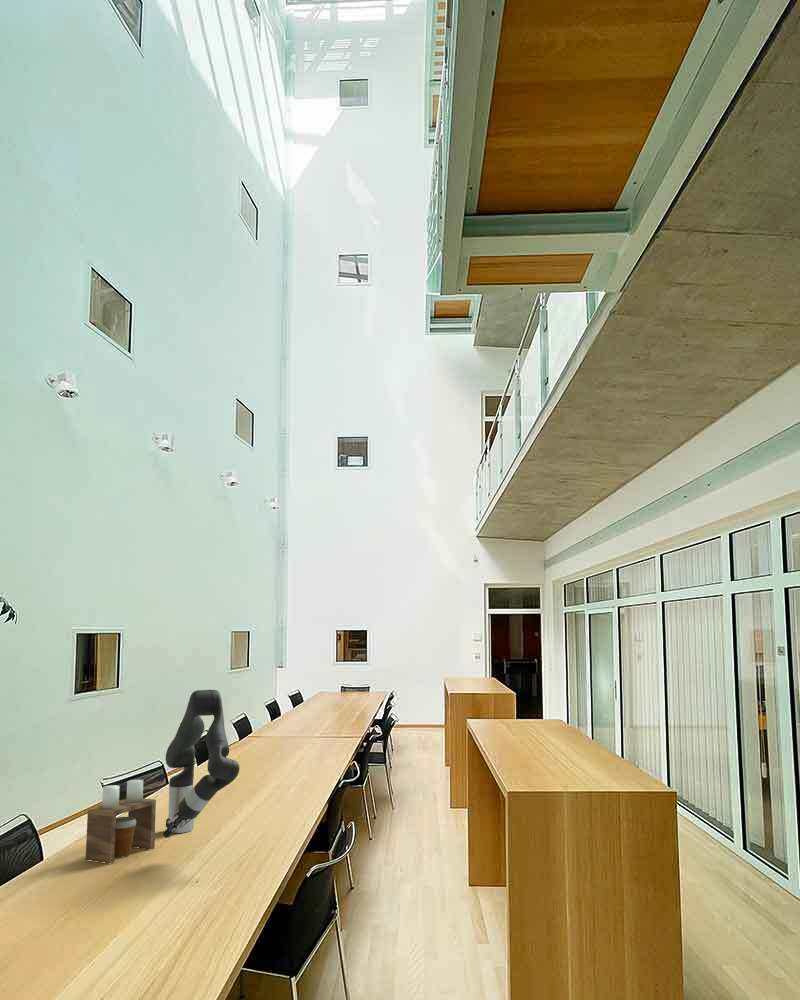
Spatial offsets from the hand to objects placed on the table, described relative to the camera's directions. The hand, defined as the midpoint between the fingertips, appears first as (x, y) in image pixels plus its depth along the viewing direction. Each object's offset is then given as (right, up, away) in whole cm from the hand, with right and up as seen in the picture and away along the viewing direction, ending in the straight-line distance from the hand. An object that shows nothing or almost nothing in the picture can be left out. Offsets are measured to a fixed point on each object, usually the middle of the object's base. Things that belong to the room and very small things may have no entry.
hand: (165, 835), depth 288 cm
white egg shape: (-15, +7, +15) cm, 22 cm away
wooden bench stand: (-18, -9, +7) cm, 21 cm away
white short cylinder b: (-21, +8, +4) cm, 23 cm away
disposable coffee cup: (-17, -10, +6) cm, 21 cm away
